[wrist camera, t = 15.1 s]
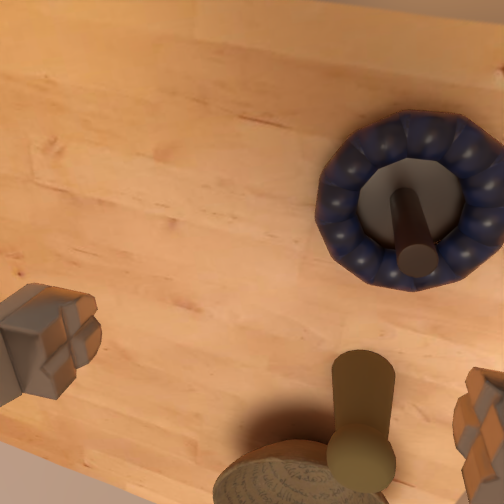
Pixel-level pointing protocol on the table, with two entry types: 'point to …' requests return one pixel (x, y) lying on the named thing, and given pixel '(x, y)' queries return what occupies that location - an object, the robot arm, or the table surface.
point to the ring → (425, 148)
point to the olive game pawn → (362, 422)
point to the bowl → (286, 478)
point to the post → (411, 211)
